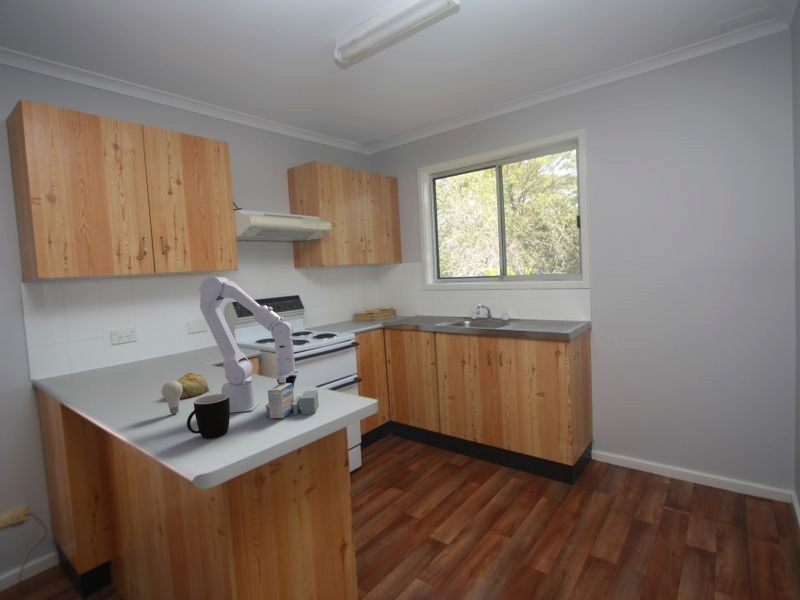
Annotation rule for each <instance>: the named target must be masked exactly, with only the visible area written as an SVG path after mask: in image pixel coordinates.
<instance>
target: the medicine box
mask: <svg viewBox="0 0 800 600" xmlns="http://www.w3.org/2000/svg"><path fill="white" fill-rule="evenodd" d="M267 399H268V403H269V409H270V417H269V418H270V419H284V418H286V417H288V416H287V415H288V414H290V413H291V412H292V411H293V405H292V403H294V401H295V397H294V388H293V384H292V383H282V384H277V385H276V386H274V387H273V388H271V389H269V390H267Z"/></svg>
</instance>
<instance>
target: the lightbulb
mask: <svg viewBox="0 0 800 600" xmlns="http://www.w3.org/2000/svg"><path fill="white" fill-rule="evenodd" d="M177 381H178V380H170V381H167V382H166V383H164V384H163V385H162V387H161V395H162V397H163V398H164V399H165V400H166V402H167V405H168V406H167V407H168V408H169V413H170V414H172V415H177V413H179V412H180V408H179V407H180V399H181V398H180V397H181V394H182V392H183V387H182V385H181V384H180V383H179V382H177Z"/></svg>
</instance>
